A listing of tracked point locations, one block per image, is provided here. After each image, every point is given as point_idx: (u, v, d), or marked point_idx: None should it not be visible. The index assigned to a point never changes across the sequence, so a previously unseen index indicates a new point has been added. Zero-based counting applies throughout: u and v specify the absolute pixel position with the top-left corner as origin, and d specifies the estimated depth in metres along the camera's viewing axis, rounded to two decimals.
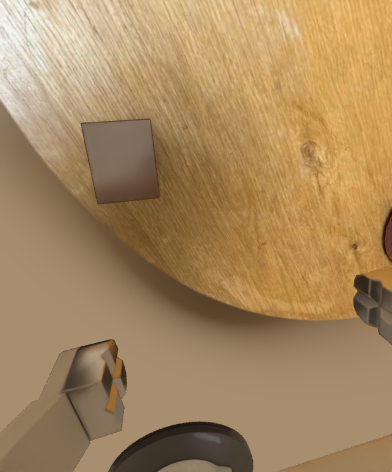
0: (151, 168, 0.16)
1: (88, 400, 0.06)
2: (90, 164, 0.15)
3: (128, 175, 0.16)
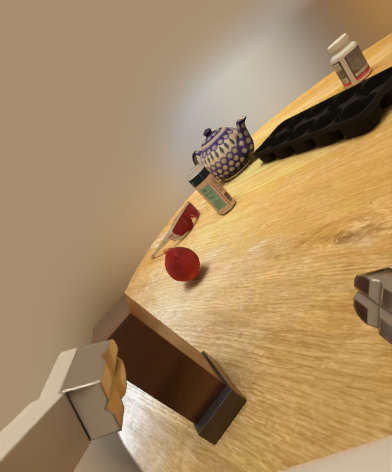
0: (124, 306, 0.20)
1: (88, 400, 0.06)
2: (92, 340, 0.20)
3: (111, 322, 0.20)
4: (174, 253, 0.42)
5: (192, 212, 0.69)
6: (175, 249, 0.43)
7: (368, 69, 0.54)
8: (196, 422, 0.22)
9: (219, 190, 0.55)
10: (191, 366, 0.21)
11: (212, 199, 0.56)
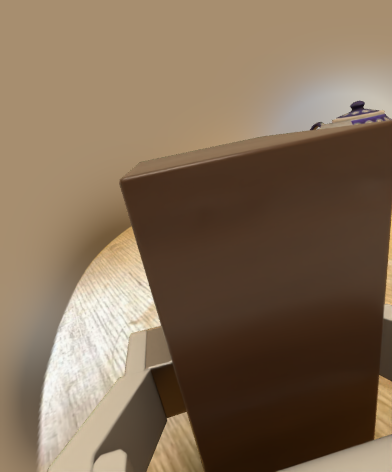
0: (304, 132, 0.05)
1: (169, 377, 0.06)
2: (136, 167, 0.06)
3: (240, 145, 0.05)
4: None
5: None
6: None
7: None
8: None
9: None
10: None
11: None
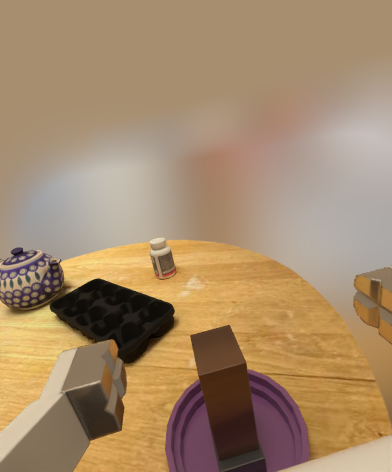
0: (235, 346, 0.22)
1: (88, 400, 0.06)
2: (194, 352, 0.23)
3: (219, 352, 0.22)
4: None
5: None
6: None
7: (173, 272, 0.65)
8: (220, 459, 0.24)
9: None
10: (250, 422, 0.23)
11: None
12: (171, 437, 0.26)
